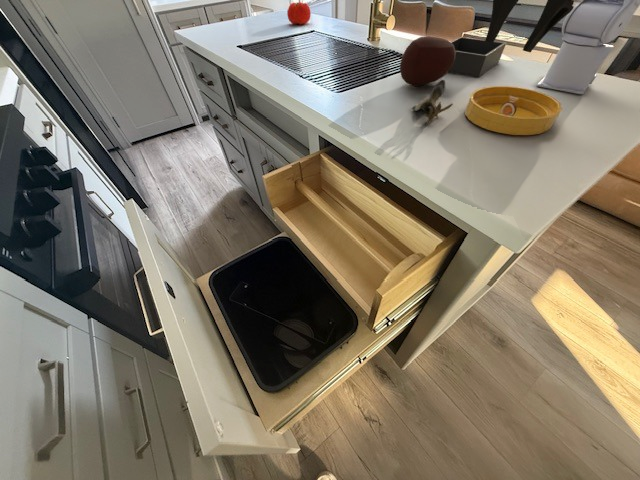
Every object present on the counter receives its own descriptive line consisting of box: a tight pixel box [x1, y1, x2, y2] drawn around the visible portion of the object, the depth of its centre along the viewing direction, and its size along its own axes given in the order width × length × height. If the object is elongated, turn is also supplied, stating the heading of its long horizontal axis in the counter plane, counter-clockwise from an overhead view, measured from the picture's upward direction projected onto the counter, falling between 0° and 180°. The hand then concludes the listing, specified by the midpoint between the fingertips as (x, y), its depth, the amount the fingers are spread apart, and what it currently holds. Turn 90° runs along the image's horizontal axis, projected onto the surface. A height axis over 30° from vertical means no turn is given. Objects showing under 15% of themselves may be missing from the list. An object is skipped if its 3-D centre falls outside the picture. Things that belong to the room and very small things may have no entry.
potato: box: [399, 35, 456, 87], centre depth 66 cm, size 11×13×10 cm
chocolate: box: [500, 96, 518, 116], centre depth 54 cm, size 3×2×4 cm
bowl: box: [464, 85, 563, 136], centre depth 54 cm, size 16×16×4 cm
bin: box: [447, 36, 507, 79], centre depth 76 cm, size 13×15×5 cm
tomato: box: [286, 1, 311, 25], centre depth 125 cm, size 11×11×8 cm
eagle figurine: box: [411, 79, 454, 126], centre depth 55 cm, size 8×7×9 cm
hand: (506, 46), depth 51 cm, fingers open, 7 cm apart
